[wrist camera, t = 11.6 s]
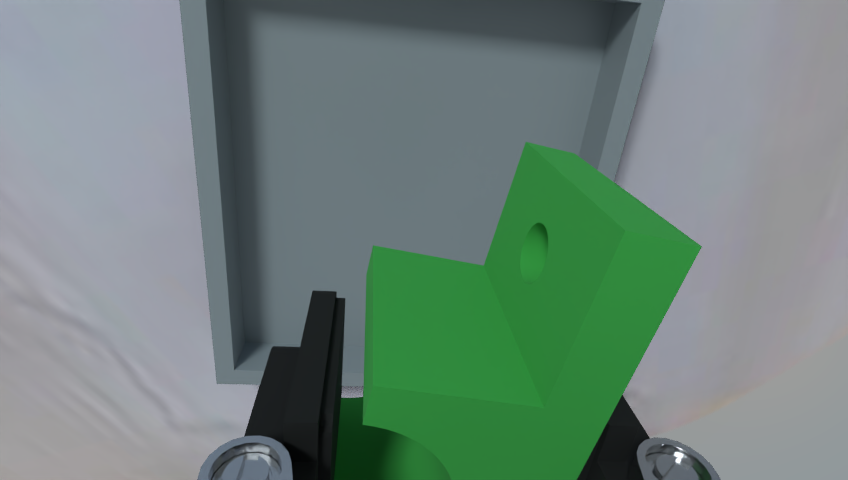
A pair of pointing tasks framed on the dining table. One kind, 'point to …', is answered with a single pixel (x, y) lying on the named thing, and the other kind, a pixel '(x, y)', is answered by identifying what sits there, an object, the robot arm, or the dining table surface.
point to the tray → (381, 139)
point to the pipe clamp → (512, 334)
